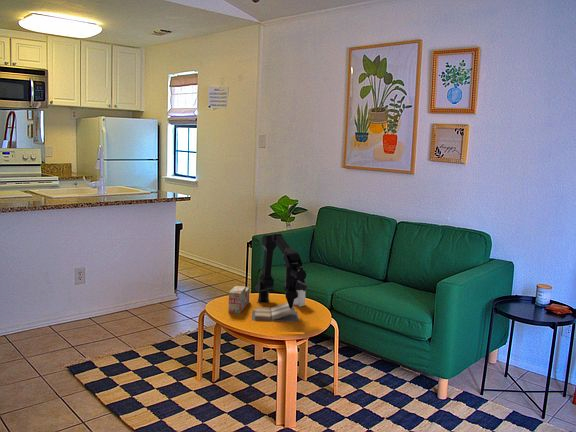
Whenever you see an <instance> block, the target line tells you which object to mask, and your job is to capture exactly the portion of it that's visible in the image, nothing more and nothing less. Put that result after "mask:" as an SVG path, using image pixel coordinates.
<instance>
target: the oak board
mask: <svg viewBox="0 0 576 432" xmlns="http://www.w3.org/2000/svg"><path fill="white" fill-rule="evenodd" d="M254 308H255V309H254V310H255V320H271V307H262V306H261V307H254Z"/></svg>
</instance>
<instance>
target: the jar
mask: <svg viewBox="0 0 576 432" xmlns="http://www.w3.org/2000/svg"><path fill="white" fill-rule="evenodd" d="M296 290H297V291H298V297H297V298H296V299H294V302H293V303H294V306H298V308H299V307H303V306H305V305H306V294H307V292H306V291H307V290H306V291H303V290H301V289H298V288H297V289H296Z"/></svg>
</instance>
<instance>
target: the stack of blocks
mask: <svg viewBox="0 0 576 432" xmlns="http://www.w3.org/2000/svg"><path fill="white" fill-rule="evenodd" d="M249 303H250V287H247V286H243V285H241V286H239V285H234V287H233V288H232V289H231V290H230V291H229V292H228V310H227V311H228V313H229V314H230V313H232V314H240V313H242V311H243V310H244V309H245V307H246V306H247V305H248V304H249Z"/></svg>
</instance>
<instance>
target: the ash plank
mask: <svg viewBox="0 0 576 432" xmlns="http://www.w3.org/2000/svg"><path fill="white" fill-rule="evenodd" d="M270 309H271V314H272V319H273V320H275V319H278V318H281V317H284V316H287V315H290V314H293V313H295V311H296V310H295V309H296V308H295V305H294V303H293V306H292V308H290V307H289V305H288V302H287V301H286V302H284V303H282V304H278V305H275V306H273V307H270Z"/></svg>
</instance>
